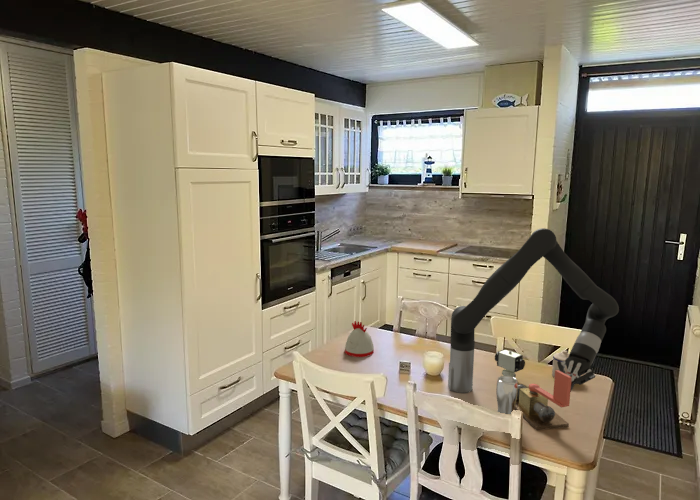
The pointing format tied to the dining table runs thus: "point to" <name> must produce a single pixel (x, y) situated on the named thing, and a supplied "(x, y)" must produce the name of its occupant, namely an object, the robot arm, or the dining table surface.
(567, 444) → the dining table surface
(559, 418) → the valve body
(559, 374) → the lever
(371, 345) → the grey beanie hat
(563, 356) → the teacup with lid
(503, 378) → the grey vase
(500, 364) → the pneumatic valve
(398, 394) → the dining table surface
